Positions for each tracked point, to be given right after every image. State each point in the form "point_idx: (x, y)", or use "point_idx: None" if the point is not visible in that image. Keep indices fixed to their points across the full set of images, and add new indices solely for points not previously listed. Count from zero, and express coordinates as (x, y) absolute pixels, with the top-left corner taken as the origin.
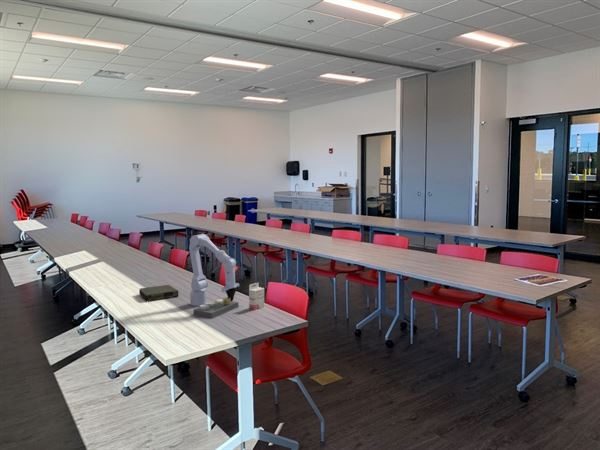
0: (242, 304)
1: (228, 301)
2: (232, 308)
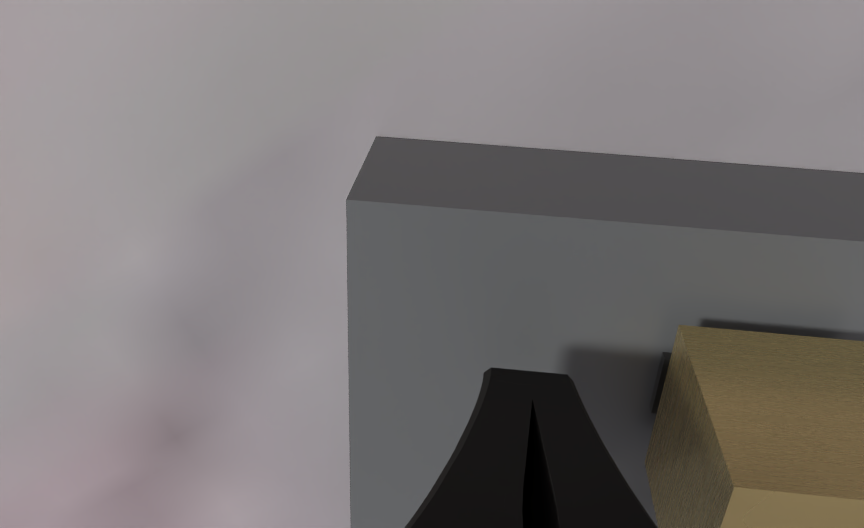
0: (101, 175)
1: (844, 405)
2: (681, 173)
